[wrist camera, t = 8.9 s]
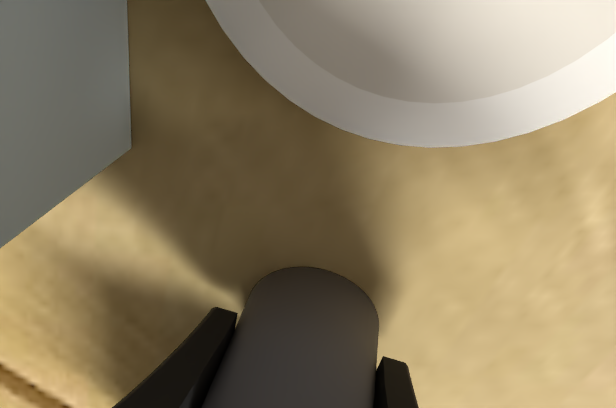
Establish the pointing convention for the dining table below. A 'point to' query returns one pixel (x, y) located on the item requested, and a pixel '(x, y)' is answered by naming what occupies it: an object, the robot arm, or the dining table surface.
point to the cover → (59, 101)
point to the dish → (430, 63)
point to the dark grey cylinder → (300, 345)
